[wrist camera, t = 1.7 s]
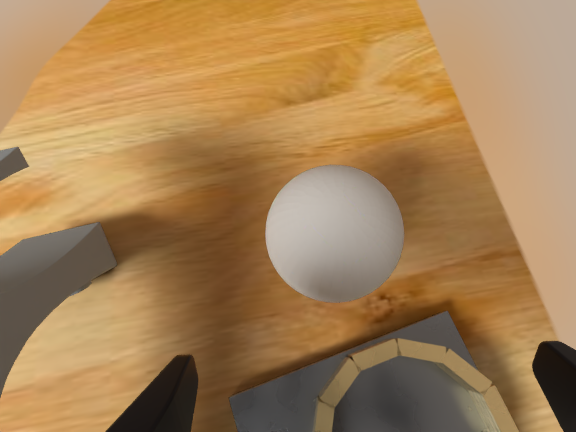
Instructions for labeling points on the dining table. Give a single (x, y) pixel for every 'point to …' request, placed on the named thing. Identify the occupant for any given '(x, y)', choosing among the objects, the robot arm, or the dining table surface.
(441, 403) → the plate
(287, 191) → the light bulb
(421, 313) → the dining table surface
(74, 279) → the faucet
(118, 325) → the dining table surface
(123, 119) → the dining table surface
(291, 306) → the dining table surface
